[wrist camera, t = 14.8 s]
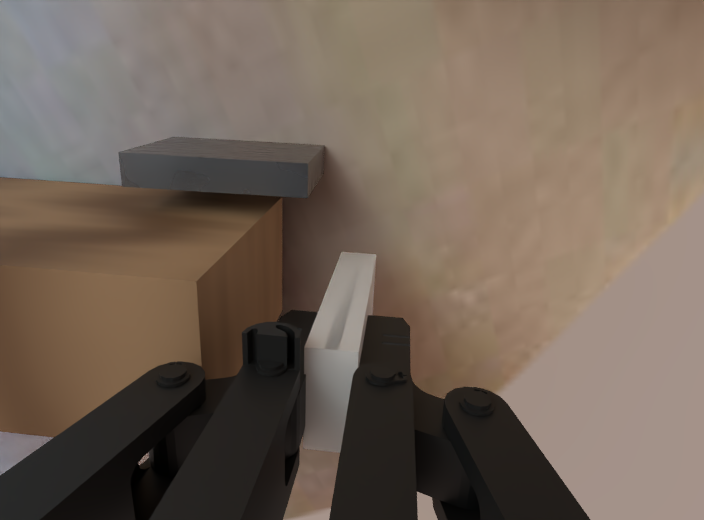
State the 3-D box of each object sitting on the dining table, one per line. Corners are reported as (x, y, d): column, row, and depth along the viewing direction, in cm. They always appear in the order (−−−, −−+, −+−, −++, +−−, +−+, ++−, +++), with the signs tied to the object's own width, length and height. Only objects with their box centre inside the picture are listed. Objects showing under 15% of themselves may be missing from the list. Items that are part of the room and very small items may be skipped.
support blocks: (189, 353, 21) (147, 412, 18) (173, 137, 18) (118, 152, 15) (318, 363, 21) (303, 425, 17) (324, 145, 18) (308, 163, 14)
